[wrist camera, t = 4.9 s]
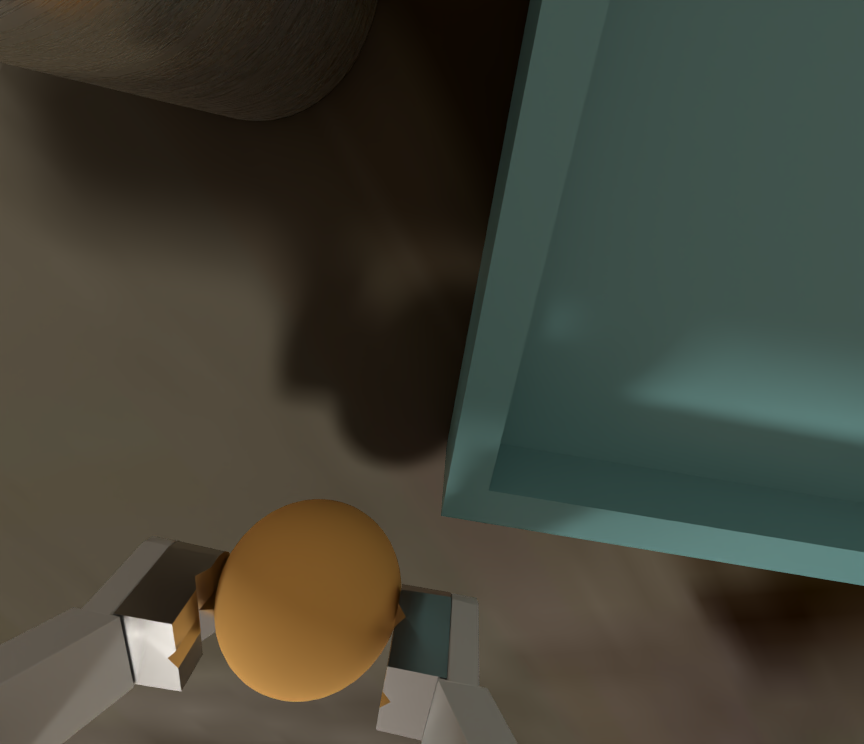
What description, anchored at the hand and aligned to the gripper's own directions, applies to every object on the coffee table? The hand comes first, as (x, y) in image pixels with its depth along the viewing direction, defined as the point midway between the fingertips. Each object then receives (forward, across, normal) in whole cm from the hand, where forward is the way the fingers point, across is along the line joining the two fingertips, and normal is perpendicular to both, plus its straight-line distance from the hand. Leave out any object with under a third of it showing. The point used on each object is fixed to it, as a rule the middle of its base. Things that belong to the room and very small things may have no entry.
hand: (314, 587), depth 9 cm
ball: (+2, 0, 0) cm, 2 cm away
